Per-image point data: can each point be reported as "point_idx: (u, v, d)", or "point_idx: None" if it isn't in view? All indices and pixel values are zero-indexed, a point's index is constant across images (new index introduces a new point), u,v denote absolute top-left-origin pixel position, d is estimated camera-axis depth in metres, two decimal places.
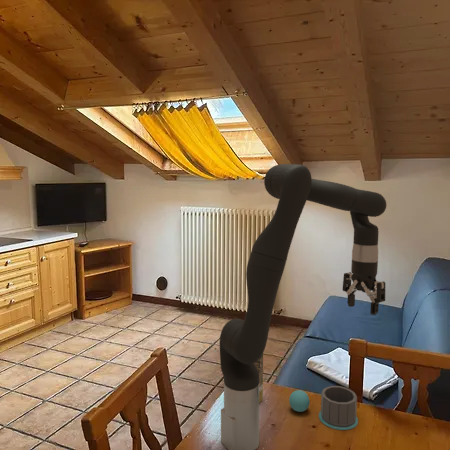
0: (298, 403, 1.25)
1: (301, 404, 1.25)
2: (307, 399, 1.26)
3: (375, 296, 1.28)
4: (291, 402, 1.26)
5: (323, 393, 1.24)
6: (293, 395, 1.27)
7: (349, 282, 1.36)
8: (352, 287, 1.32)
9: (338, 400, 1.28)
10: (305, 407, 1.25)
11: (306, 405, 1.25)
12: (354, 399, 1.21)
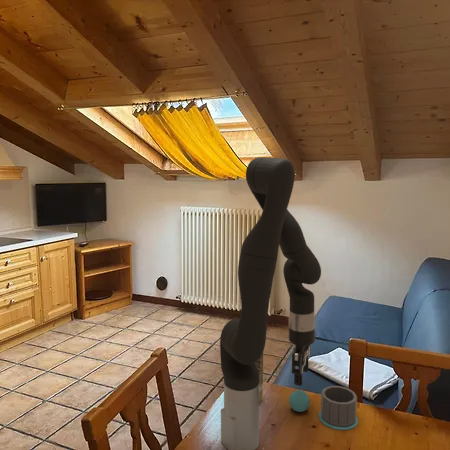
0: (298, 403, 1.25)
1: (301, 404, 1.25)
2: (307, 399, 1.26)
3: None
4: (291, 402, 1.26)
5: (323, 393, 1.24)
6: (293, 395, 1.27)
7: None
8: (305, 361, 1.23)
9: (338, 400, 1.28)
10: (305, 407, 1.25)
11: (306, 405, 1.25)
12: (354, 399, 1.21)
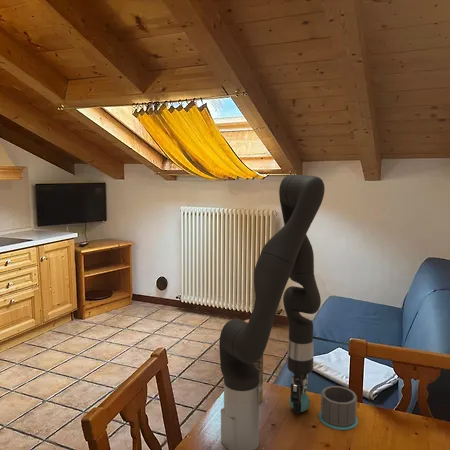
0: None
1: (301, 404, 1.25)
2: (307, 399, 1.26)
3: None
4: (291, 402, 1.26)
5: (323, 393, 1.24)
6: None
7: None
8: (303, 389, 1.24)
9: (338, 400, 1.28)
10: (305, 407, 1.25)
11: (306, 405, 1.25)
12: (354, 399, 1.21)
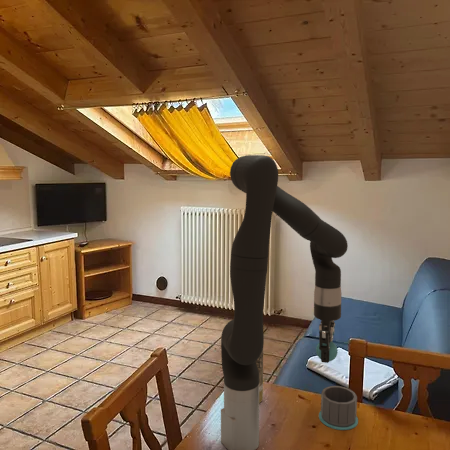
0: None
1: (329, 353, 1.20)
2: (335, 348, 1.21)
3: None
4: (318, 351, 1.22)
5: (323, 393, 1.24)
6: None
7: None
8: (332, 337, 1.20)
9: (338, 400, 1.28)
10: (333, 356, 1.21)
11: (334, 354, 1.21)
12: (354, 399, 1.21)
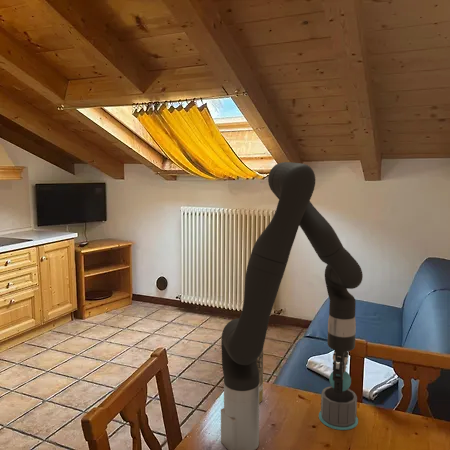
0: None
1: (343, 383, 1.19)
2: (349, 378, 1.21)
3: None
4: (332, 381, 1.21)
5: (323, 393, 1.24)
6: None
7: None
8: (345, 367, 1.19)
9: (338, 400, 1.28)
10: (347, 386, 1.20)
11: (348, 384, 1.20)
12: (354, 399, 1.21)
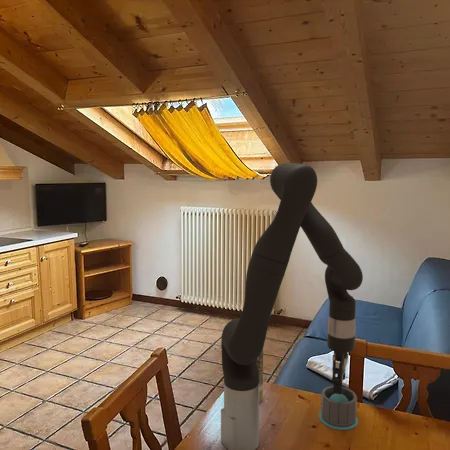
0: None
1: None
2: None
3: None
4: None
5: (323, 393, 1.24)
6: (333, 398, 1.22)
7: None
8: (345, 368, 1.19)
9: None
10: None
11: None
12: (354, 399, 1.21)
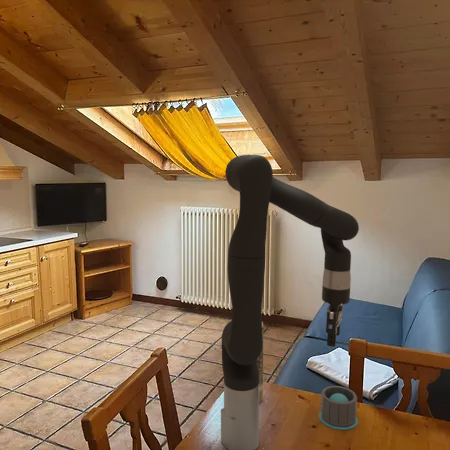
0: None
1: None
2: None
3: None
4: None
5: (323, 393, 1.24)
6: (333, 398, 1.22)
7: None
8: (339, 321, 1.17)
9: None
10: None
11: None
12: (354, 399, 1.21)
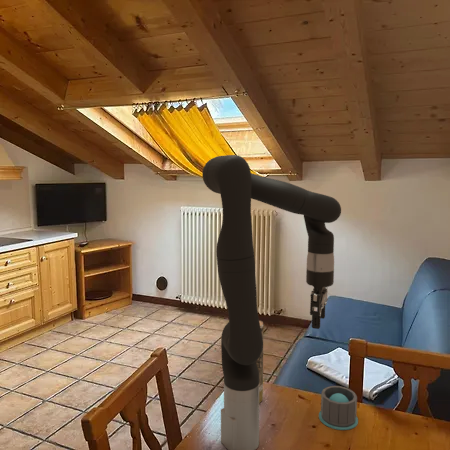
0: None
1: None
2: None
3: None
4: None
5: (323, 393, 1.24)
6: (333, 398, 1.22)
7: None
8: (323, 303, 1.18)
9: None
10: None
11: None
12: (354, 399, 1.21)
